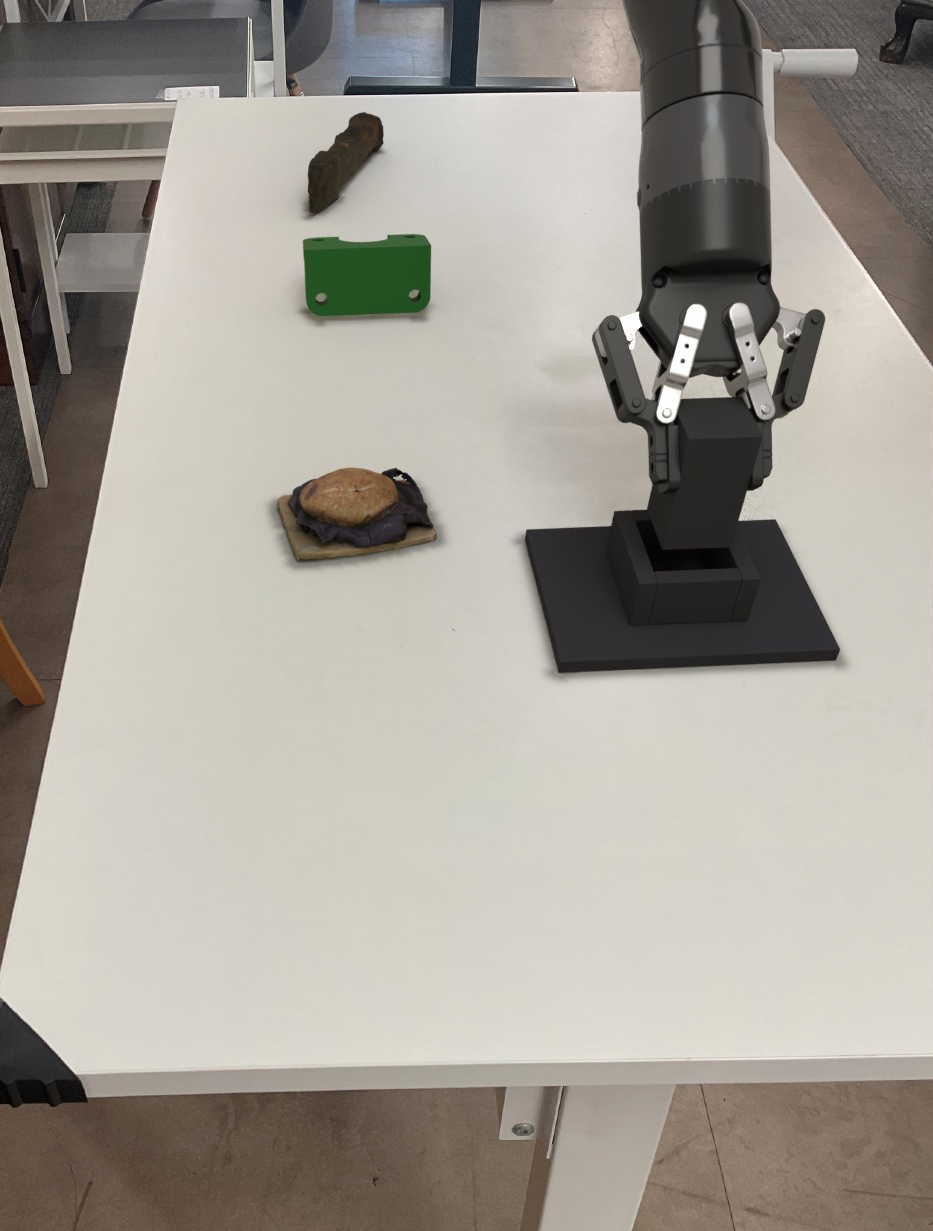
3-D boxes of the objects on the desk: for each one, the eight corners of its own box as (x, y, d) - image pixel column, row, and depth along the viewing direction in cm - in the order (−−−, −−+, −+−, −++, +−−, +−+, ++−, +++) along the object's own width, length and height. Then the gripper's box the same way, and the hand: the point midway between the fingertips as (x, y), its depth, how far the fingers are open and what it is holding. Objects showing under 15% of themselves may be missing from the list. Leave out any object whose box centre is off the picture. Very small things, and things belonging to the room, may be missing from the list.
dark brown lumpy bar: (351, 147, 134) (350, 102, 131) (384, 151, 133) (384, 106, 130) (286, 214, 122) (283, 167, 119) (322, 219, 121) (320, 172, 118)
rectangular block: (712, 506, 78) (742, 395, 72) (730, 547, 75) (763, 435, 69) (646, 509, 78) (670, 398, 72) (662, 550, 75) (688, 438, 69)
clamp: (402, 336, 114) (441, 240, 109) (408, 352, 109) (449, 253, 104) (284, 288, 111) (319, 188, 106) (285, 302, 106) (322, 198, 101)
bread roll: (296, 569, 83) (294, 526, 80) (274, 500, 89) (271, 457, 86) (442, 546, 85) (444, 503, 82) (411, 479, 90) (412, 437, 87)
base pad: (772, 530, 86) (789, 476, 82) (836, 660, 76) (858, 606, 73) (524, 540, 85) (531, 486, 82) (558, 673, 76) (567, 619, 72)
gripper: (601, 176, 67) (610, 482, 68) (849, 168, 67) (855, 473, 68) (571, 230, 74) (580, 505, 75) (795, 223, 75) (801, 497, 76)
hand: (711, 488), depth 72 cm, fingers closed on rectangular block, 4 cm apart
